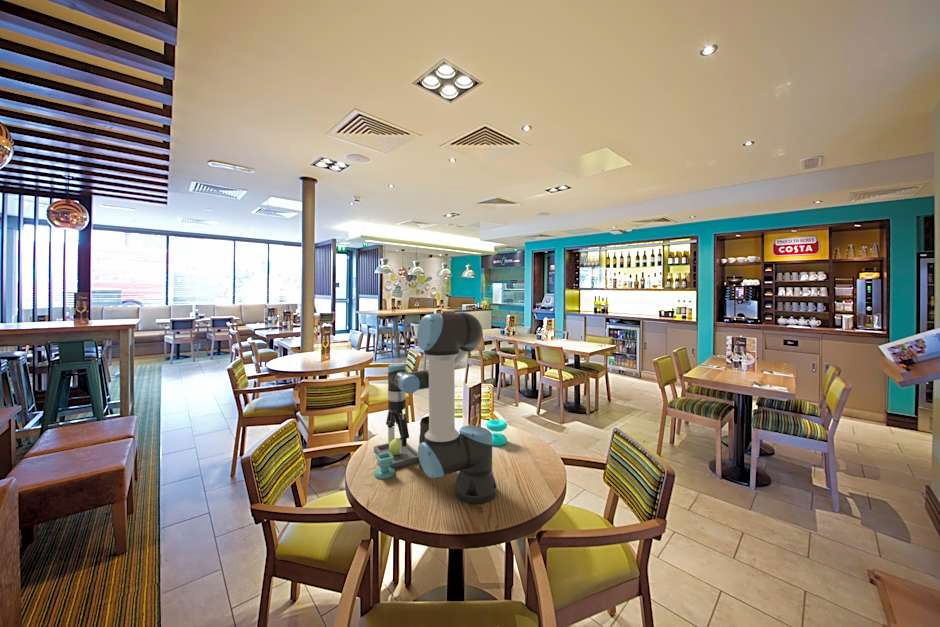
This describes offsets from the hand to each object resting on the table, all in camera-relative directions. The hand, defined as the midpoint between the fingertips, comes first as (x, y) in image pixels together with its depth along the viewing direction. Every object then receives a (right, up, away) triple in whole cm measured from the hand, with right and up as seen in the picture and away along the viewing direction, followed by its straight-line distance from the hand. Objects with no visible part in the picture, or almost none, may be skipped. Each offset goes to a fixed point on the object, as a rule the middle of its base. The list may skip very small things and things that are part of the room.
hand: (397, 447), depth 160 cm
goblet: (-2, -5, -15) cm, 16 cm away
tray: (0, -4, 0) cm, 4 cm away
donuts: (+45, -4, +16) cm, 47 cm away
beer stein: (+18, -5, -9) cm, 21 cm away
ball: (0, 0, 0) cm, 0 cm away
